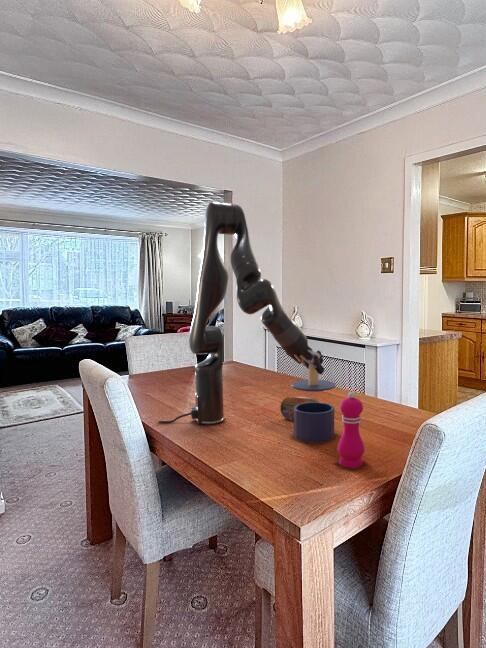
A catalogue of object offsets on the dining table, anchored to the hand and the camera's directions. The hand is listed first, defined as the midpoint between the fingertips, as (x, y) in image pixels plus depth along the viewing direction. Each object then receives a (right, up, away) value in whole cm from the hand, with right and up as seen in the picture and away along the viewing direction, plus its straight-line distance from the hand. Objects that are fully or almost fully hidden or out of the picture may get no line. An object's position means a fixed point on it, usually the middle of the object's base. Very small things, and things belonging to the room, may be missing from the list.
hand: (317, 371), depth 142 cm
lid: (-1, -4, -1) cm, 5 cm away
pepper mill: (+8, -24, -20) cm, 32 cm away
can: (-1, -21, +2) cm, 21 cm away
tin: (-5, -19, +19) cm, 27 cm away
